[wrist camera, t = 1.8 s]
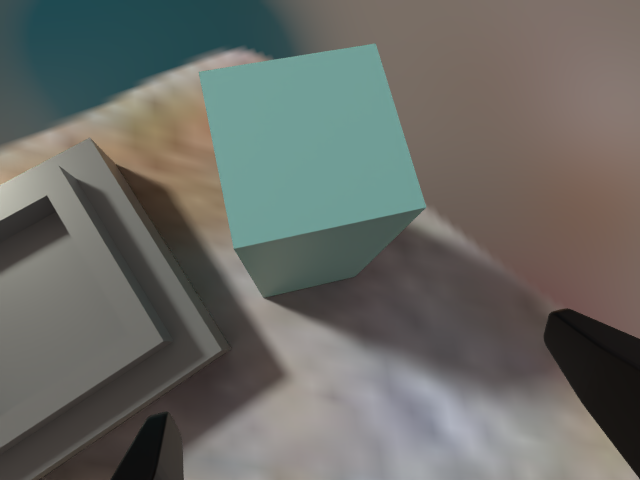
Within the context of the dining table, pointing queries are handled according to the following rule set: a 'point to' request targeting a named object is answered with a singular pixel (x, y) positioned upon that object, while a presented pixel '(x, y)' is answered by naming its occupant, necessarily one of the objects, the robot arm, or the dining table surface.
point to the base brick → (86, 311)
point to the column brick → (310, 165)
